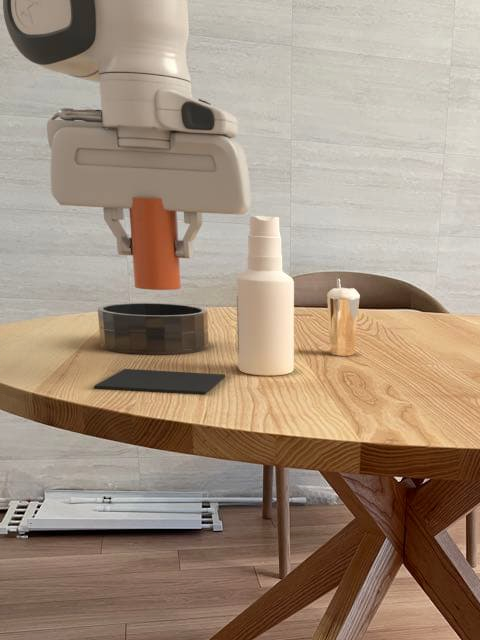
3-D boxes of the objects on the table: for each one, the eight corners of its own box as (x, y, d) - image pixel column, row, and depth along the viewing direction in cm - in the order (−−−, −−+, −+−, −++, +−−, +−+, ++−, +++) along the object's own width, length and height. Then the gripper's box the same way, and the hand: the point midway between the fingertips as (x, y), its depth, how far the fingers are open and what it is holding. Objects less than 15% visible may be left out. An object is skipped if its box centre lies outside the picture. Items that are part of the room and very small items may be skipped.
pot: (85, 351, 109) (81, 312, 107) (121, 335, 122) (118, 300, 121) (193, 357, 109) (192, 318, 107) (218, 341, 123) (217, 306, 121)
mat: (94, 388, 89) (94, 385, 89) (124, 371, 98) (124, 368, 98) (205, 394, 89) (205, 391, 89) (225, 376, 98) (225, 374, 98)
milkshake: (351, 350, 121) (353, 279, 117) (361, 356, 116) (364, 283, 112) (321, 350, 119) (322, 278, 116) (330, 356, 115) (331, 282, 111)
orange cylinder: (128, 288, 88) (122, 196, 84) (142, 284, 92) (136, 197, 89) (173, 290, 88) (168, 199, 84) (185, 286, 92) (181, 199, 89)
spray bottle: (292, 366, 107) (292, 217, 100) (295, 376, 100) (295, 218, 94) (238, 365, 105) (235, 214, 99) (238, 375, 99) (234, 215, 92)
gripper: (31, 103, 80) (47, 252, 86) (240, 114, 80) (244, 263, 86) (57, 110, 86) (71, 249, 91) (252, 120, 86) (255, 259, 92)
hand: (156, 256), depth 89 cm, fingers closed on orange cylinder, 5 cm apart
